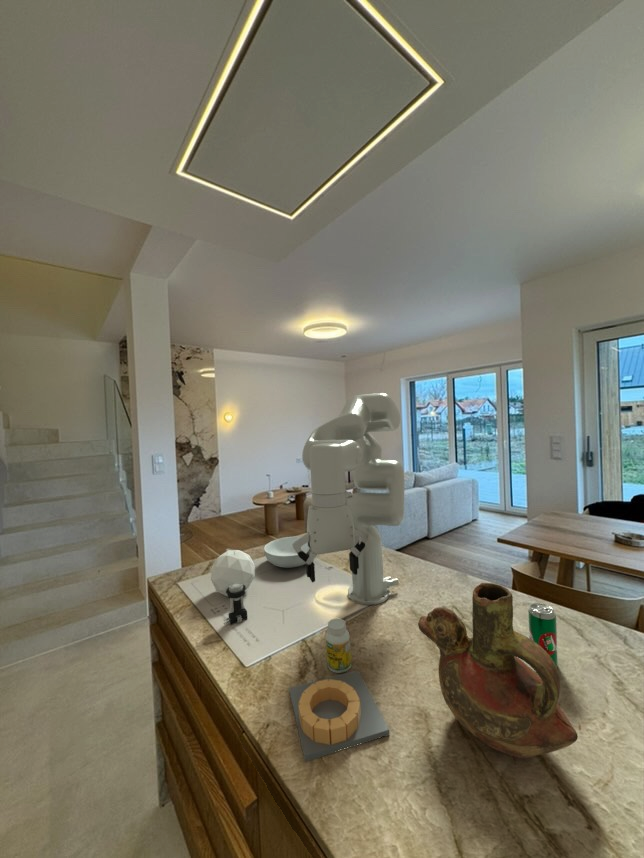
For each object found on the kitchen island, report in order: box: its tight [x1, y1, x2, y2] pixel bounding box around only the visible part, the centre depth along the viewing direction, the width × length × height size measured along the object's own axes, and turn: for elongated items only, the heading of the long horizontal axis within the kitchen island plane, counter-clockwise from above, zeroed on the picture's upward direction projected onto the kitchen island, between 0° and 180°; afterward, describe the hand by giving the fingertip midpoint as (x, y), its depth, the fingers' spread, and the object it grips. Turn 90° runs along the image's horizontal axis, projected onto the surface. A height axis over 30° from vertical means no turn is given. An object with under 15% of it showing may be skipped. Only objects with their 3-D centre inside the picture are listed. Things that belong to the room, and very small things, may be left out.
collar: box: [298, 679, 361, 745], centre depth 64 cm, size 11×11×2 cm
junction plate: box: [288, 669, 391, 762], centre depth 66 cm, size 15×15×1 cm
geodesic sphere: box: [210, 548, 256, 597], centre depth 114 cm, size 15×14×14 cm
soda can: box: [528, 602, 559, 667], centre depth 75 cm, size 5×5×12 cm
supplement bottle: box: [325, 618, 352, 674], centre depth 78 cm, size 5×5×10 cm
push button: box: [223, 582, 248, 625], centre depth 97 cm, size 7×5×10 cm
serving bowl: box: [263, 536, 310, 569], centre depth 135 cm, size 21×21×7 cm
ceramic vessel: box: [417, 582, 578, 759], centre depth 61 cm, size 17×26×25 cm, turn 45°
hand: (333, 575), depth 78 cm, fingers open, 9 cm apart
